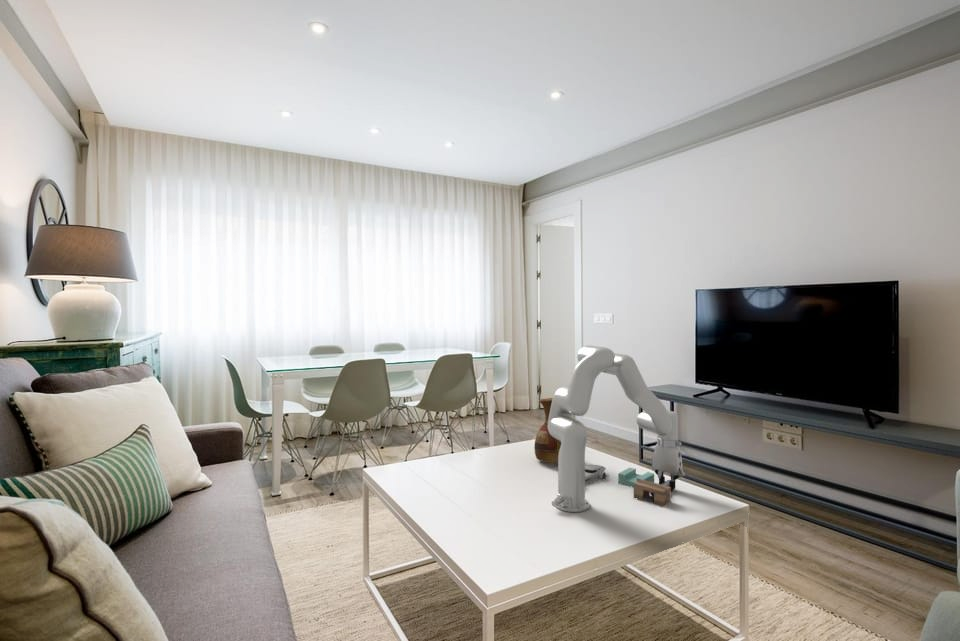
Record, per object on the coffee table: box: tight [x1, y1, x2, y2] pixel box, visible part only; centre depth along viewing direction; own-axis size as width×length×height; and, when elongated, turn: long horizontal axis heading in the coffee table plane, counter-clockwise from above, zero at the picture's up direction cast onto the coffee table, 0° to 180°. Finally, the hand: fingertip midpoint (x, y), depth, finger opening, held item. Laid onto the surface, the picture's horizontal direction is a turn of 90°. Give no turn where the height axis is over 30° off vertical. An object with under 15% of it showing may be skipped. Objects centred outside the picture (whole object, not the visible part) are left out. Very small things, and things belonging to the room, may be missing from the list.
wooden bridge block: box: [633, 480, 672, 507], centre depth 177 cm, size 6×12×6 cm, turn 46°
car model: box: [585, 464, 608, 486], centre depth 198 cm, size 11×24×5 cm, turn 132°
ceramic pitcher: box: [534, 397, 561, 464], centre depth 221 cm, size 20×20×30 cm
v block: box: [617, 467, 655, 488], centre depth 194 cm, size 10×11×4 cm
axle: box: [650, 479, 671, 498], centre depth 183 cm, size 14×3×3 cm, turn 136°
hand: (667, 488), depth 186 cm, fingers closed on axle, 3 cm apart
